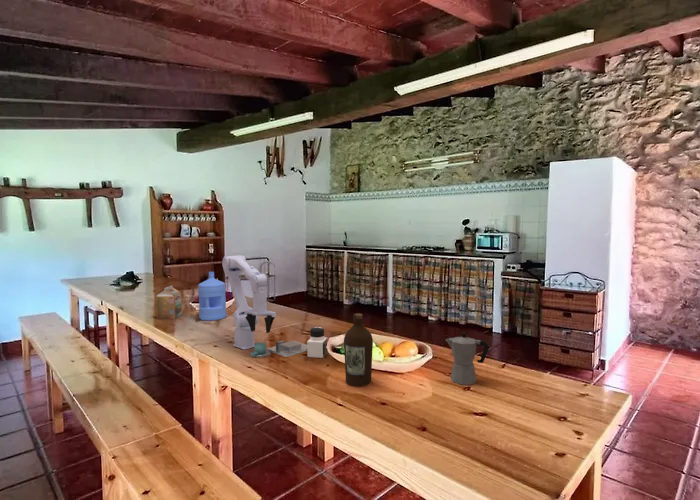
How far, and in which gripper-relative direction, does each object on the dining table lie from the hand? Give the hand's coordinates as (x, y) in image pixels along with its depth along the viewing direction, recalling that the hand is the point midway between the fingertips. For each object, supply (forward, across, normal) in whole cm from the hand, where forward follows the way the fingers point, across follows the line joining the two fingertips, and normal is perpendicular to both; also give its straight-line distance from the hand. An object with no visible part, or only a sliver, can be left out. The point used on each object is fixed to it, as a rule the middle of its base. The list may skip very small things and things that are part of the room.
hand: (260, 331), depth 183 cm
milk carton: (+10, -90, +42) cm, 100 cm away
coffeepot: (+10, +88, -3) cm, 89 cm away
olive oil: (+10, +51, -16) cm, 54 cm away
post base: (+10, +10, +10) cm, 17 cm away
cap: (+9, 0, -2) cm, 10 cm away
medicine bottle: (+10, +24, +6) cm, 27 cm away
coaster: (+10, 0, 0) cm, 10 cm away
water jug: (+10, -64, +49) cm, 81 cm away
